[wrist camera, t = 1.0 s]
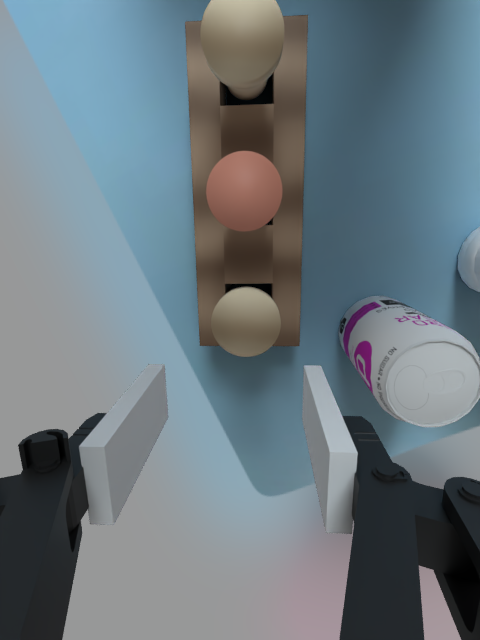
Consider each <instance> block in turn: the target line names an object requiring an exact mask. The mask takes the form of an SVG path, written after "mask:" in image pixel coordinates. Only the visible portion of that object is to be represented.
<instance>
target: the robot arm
mask: <svg viewBox="0 0 480 640" xmlns="http://www.w3.org/2000/svg"><path fill="white" fill-rule="evenodd" d="M167 419H168V408H167V394H166V380H165V365H164V364H149V365H148V366H147V367H146V368H145V369H144V370H143V371H142V373H141V374H140V375H139V376H138V377H137V379H136V380H135V381H134V382H133V383H132V384H131V386H130V387H129V388H128V389H127V390H126V392H125V393H124V394H123V395H122V396H121V397H120V399H119V400H118V401H117V402H116V403H115V405H114V406H113V407H112V408H111V409H110V411H109V412H108V413H97V414H95V415H94V416H92V417H90V418H89V419H87V420H86V421H85V422H84V423H83V424H82V425H81V426H80V427H79V429H77V430H76V431H75V433H74V434H73V436H71V437H70V438H69V439H68V434H67V433H66V432H65V431H64V430H59V429H50V430H44V431H41V432H37V433H35V434H32V435H30V436H28V437H27V438H25V439H23V440H22V441H21V443H20V444H19V445H18V446H19V452H20V457H21V462H22V467H23V471H22V473H21V474H20V475H15V476H10V477H4V478H0V640H62V637H63V632H64V626H65V621H66V616H67V611H68V605H69V600H70V595H71V590H72V584H73V579H74V574H75V568H76V563H77V558H78V552H79V547H80V541H81V537H82V527H81V519H82V517H83V516H84V514H85V512H86V511H87V509H88V513H89V520H90V524H100V525H114V523H115V522H116V520H117V518H118V516H119V514H120V512H121V510H122V508H123V506H124V504H125V502H126V500H127V498H128V496H129V494H130V492H131V490H132V488H133V486H134V484H135V482H136V480H137V478H138V476H139V474H140V472H141V470H142V468H143V466H144V464H145V462H146V460H147V458H148V456H149V454H150V452H151V450H152V448H153V446H154V444H155V442H156V440H157V438H158V436H159V434H160V433H161V431H162V428H163V426H164V424H165V422H166V421H167ZM302 420H303V425H304V430H305V435H306V439H307V444H308V449H309V454H310V459H311V464H312V468H313V473H314V478H315V483H316V488H317V492H318V497H319V502H320V507H321V512H322V516H323V521H324V526H325V531H326V533H344V534H345V533H346V534H352V524H353V520H354V532H353V539H352V547H351V555H350V562H349V570H348V578H347V586H346V594H345V602H344V609H343V617H342V625H341V632H340V640H424V630H423V617H422V604H421V592H420V579H419V565H420V566H423V567H426V568H430V569H433V570H434V573H435V575H436V578H437V580H438V582H439V585H440V588H441V590H442V592H443V595H444V598H445V600H446V602H447V605H448V607H449V610H450V612H451V615H452V617H453V620H454V622H455V625H456V627H457V630H458V632H459V635H460V637H461V640H480V481H477V480H474V479H470V478H465V477H453V478H451V479H448V480H447V481H446V483H445V485H444V490H443V489H439V488H434V487H430V486H426V485H422V484H419V483H416V482H414V481H412V479H411V476H410V474H409V473H408V472H407V471H406V470H405V469H404V468H403V467H401V466H399V465H398V464H396V463H393V462H392V461H391V459H390V457H389V455H388V453H387V452H386V450H385V448H384V446H383V444H382V443H381V441H380V439H379V437H378V435H377V434H376V432H375V430H374V428H373V426H372V425H371V423H369V422H368V421H367V420H365V419H364V418H363V417H361V416H342V415H341V412H340V410H339V407H338V405H337V403H336V400H335V398H334V396H333V393H332V391H331V389H330V386H329V384H328V382H327V379H326V377H325V374H324V372H323V370H322V367H321V366H312V365H304V380H303V415H302Z"/></svg>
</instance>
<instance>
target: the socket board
mask: <svg viewBox="0 0 480 640" xmlns="http://www.w3.org/2000/svg"><path fill="white" fill-rule="evenodd" d="M283 21H284V42H283V50H282V55H281V59H280V61H279V64H278V66H277V68H276V69H275V71H274V72H273V74H272V104H255V105H229V106H226V85H225V84H223V83H222V82H221V81H219V80H218V79H217V78H216V77H215V75H214V74H213V73H212V71H211V70H210V68H209V66H208V64H207V61H206V58H205V55H204V52H203V49H202V44H201V37H200V31H201V22H202V21H188V22H185V29H186V51H187V73H188V95H189V117H190V139H191V161H192V182H193V204H194V226H195V248H196V270H197V292H198V314H199V336H200V346H220V345H219V344H218V342H217V341H216V339H215V337H214V335H213V332H212V328H211V318H212V313H213V310H214V308H215V306H216V305H217V303H218V302H219V300H220V299H221V298H222V296H224V295H225V294H226V293H227V292H229V291H230V290H231V285H230V284H261V283H271V298H272V299H273V300H274V301H275V303H276V305H277V307H278V310H279V314H280V319H281V328H280V333H279V336H278V338H277V340H276V341H275V343H274V344H273V345H272V346H299V344H300V305H301V266H302V227H303V189H304V150H305V111H306V72H307V34H308V15H298V16H283ZM238 151H251V152H255V153H258V154H260V155H262V156H264V157H266V158H267V159H268V160H269V161H270V162H271V163H272V164H273V165H274V166H275V168H276V169H277V171H278V173H279V175H280V178H281V182H282V200H281V203H280V206H279V209H278V211H277V212H276V214H275V216H274V217H273V218H272V223H271V225H264V226H263V227H261V228H259V229H256V230H252V231H245V232H244V231H236V230H232V229H230V228H228V227H226V226H224V225H223V224H221V223H220V222H219V221H218V220H217V219H216V218H215V217H214V215H213V214H212V212H211V210H210V208H209V205H208V202H207V196H206V187H207V181H208V178H209V175H210V173H211V171H212V169H213V168H214V166H215V165H216V164H217V163H218V162H219V161H220V160H221V159H222V158H224V157H225V156H227V155H229V154H231V153H234V152H238Z"/></svg>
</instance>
